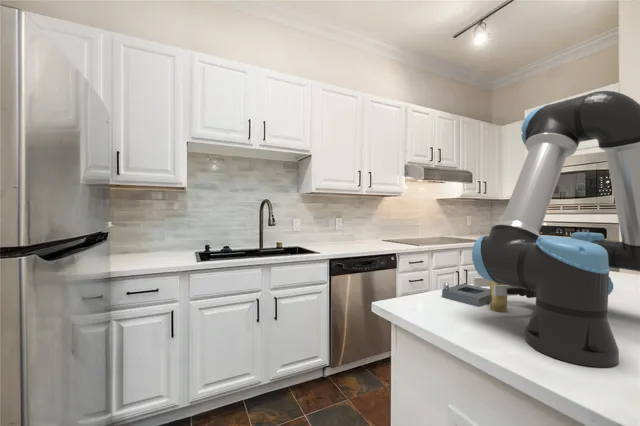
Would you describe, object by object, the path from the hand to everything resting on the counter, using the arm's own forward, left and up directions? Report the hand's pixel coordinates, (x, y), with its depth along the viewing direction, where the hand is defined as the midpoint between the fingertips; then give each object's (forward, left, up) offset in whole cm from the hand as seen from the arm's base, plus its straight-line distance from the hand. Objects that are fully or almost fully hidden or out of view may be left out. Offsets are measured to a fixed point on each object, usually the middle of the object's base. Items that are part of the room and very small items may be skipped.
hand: (483, 286), depth 87 cm
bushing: (+4, -2, -7) cm, 8 cm away
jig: (+9, +8, -7) cm, 14 cm away
